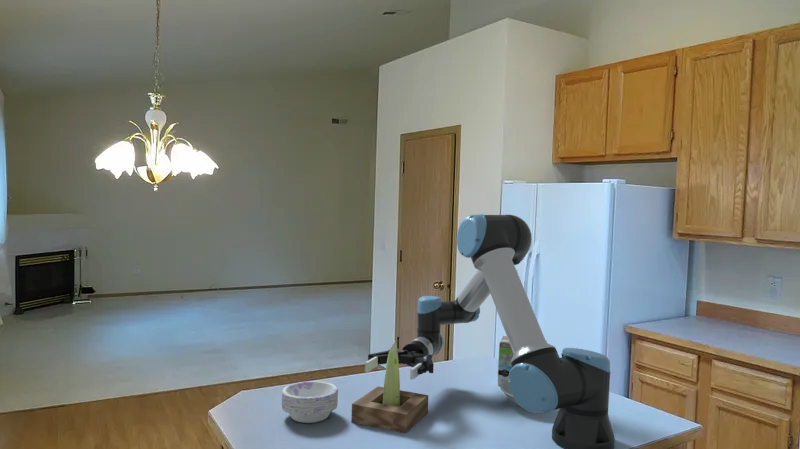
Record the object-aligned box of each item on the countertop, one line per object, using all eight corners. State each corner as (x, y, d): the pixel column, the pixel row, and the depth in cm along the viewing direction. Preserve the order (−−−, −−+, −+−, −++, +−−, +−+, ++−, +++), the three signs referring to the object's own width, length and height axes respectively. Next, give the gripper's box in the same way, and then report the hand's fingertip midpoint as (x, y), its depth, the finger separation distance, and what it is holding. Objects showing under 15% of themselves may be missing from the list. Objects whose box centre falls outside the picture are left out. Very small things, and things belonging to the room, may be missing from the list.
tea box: (497, 386, 182) (498, 341, 181) (500, 377, 191) (502, 335, 191) (544, 391, 177) (545, 346, 177) (545, 382, 187) (546, 339, 186)
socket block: (427, 412, 157) (428, 395, 157) (406, 433, 142) (406, 414, 142) (377, 403, 163) (377, 386, 163) (351, 422, 149) (351, 403, 149)
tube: (404, 414, 152) (406, 344, 151) (389, 418, 149) (390, 347, 148) (393, 408, 157) (395, 340, 156) (378, 411, 154) (380, 342, 153)
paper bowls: (306, 403, 162) (306, 376, 162) (348, 414, 154) (348, 386, 154) (269, 419, 149) (269, 390, 149) (313, 433, 141) (313, 402, 141)
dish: (561, 416, 157) (562, 399, 156) (514, 419, 154) (514, 401, 154) (534, 395, 174) (535, 379, 174) (491, 397, 171) (492, 381, 171)
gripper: (455, 370, 165) (431, 391, 146) (380, 358, 175) (348, 377, 155) (456, 345, 165) (431, 363, 145) (380, 335, 175) (348, 351, 155)
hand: (388, 370), depth 150 cm, fingers open, 13 cm apart
